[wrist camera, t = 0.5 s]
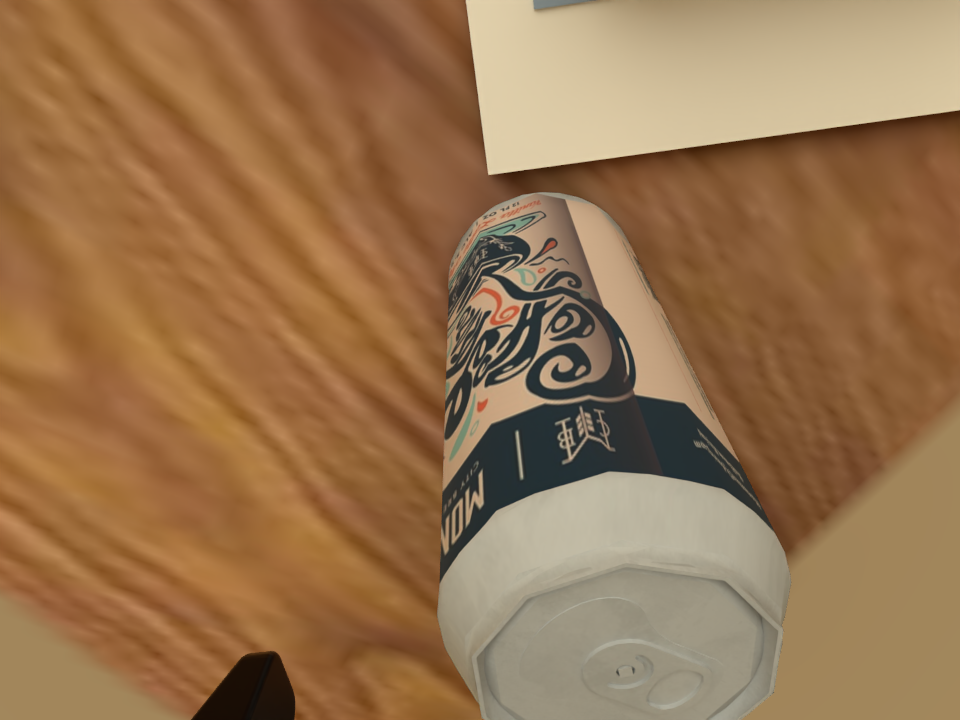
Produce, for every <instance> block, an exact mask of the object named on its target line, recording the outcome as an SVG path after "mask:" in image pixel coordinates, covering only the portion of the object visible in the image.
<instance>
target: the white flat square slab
mask: <svg viewBox="0 0 960 720" xmlns="http://www.w3.org/2000/svg"><path fill="white" fill-rule="evenodd" d="M466 5H467V13H468V21H469V29H470V36H471V44H472V52H473V60H474V67H475V75H476V83H477V90H478V98H479V106H480V114H481V121H482V129H483V137H484V145H485V152H486V160H487V168H488V175H492V174H500V173H507V172H514V171H521V170H529V169H536V168H543V167H551V166H558V165H565V164H572V163H580V162H587V161H594V160H601V159H609V158H616V157H623V156H630V155H638V154H645V153H652V152H660V151H667V150H674V149H681V148H689V147H696V146H703V145H710V144H718V143H725V142H732V141H739V140H747V139H754V138H761V137H769V136H776V135H783V134H790V133H798V132H805V131H812V130H819V129H827V128H834V127H841V126H848V125H856V124H863V123H870V122H878V121H885V120H892V119H899V118H907V117H914V116H921V115H928V114H936V113H943V112H950V111H957V110H960V0H466Z"/></svg>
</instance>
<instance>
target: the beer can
mask: <svg viewBox="0 0 960 720" xmlns="http://www.w3.org/2000/svg"><path fill="white" fill-rule="evenodd" d="M448 287H449V305H448V337H447V368H446V400H445V431H444V463H443V495H442V526H441V558H440V586H439V599H438V611H437V618H438V622H439V626H440V630H441V634H442V638H443V642H444V646H445V649H446V650H447V652H448V654H449V656H450V658H451V659H452V661H453V663H454V665H455V667H456V668H457V670H458V672H459V673H460V675H461V677H462V678H463V680H464V681H465V683H466V685H467V686H468V688H469V690H470V691H471V693H472V695H473V696H474V698H475V699H476V701H477V702H478V703H479V705H480V710H481V716H482V718H483V719H485V720H741V719H742V718H744V717H745V716H746V715H748V714H749V713H750V712H751V711H752V710H754V709H755V708H756V707H757V706H759V705H760V704H761V703H762V702H763V701H765V700H766V699H767V698H768V697H769V696H771V695H772V694H773V693H774V687H775V680H776V674H777V668H778V662H779V657H780V652H781V647H782V636H783V628H782V623H783V621H784V618H785V613H786V608H787V602H788V597H789V592H790V586H791V577H790V571H789V567H788V563H787V559H786V555H785V552H784V550H783V548H782V546H781V544H780V542H779V540H778V538H777V536H776V534H775V532H774V530H773V528H772V526H771V524H770V522H769V520H768V518H767V516H766V514H765V512H764V510H763V508H762V506H761V504H760V502H759V500H758V498H757V496H756V494H755V492H754V490H753V488H752V486H751V484H750V482H749V480H748V478H747V476H746V474H745V472H744V470H743V468H742V466H741V464H740V462H739V460H738V458H737V456H736V454H735V452H734V450H733V448H732V446H731V444H730V442H729V440H728V438H727V436H726V434H725V432H724V430H723V429H722V427H721V425H720V423H719V421H718V419H717V417H716V415H715V413H714V411H713V409H712V407H711V405H710V403H709V401H708V399H707V397H706V395H705V393H704V391H703V389H702V387H701V385H700V383H699V381H698V379H697V377H696V375H695V373H694V371H693V369H692V367H691V365H690V363H689V361H688V359H687V357H686V355H685V353H684V351H683V349H682V347H681V345H680V343H679V341H678V339H677V337H676V335H675V333H674V331H673V329H672V327H671V325H670V323H669V321H668V319H667V317H666V315H665V313H664V311H663V309H662V307H661V305H660V303H659V301H658V299H657V297H656V295H655V293H654V291H653V289H652V287H651V285H650V283H649V281H648V279H647V277H646V275H645V273H644V271H643V269H642V267H641V265H640V263H639V261H638V259H637V257H636V255H635V253H634V251H633V249H632V247H631V245H630V244H629V242H628V240H627V238H626V236H625V235H624V233H623V231H622V229H621V228H620V227H619V226H618V224H617V223H616V222H615V221H614V220H613V219H612V218H611V217H610V216H609V215H608V214H607V213H606V212H604V211H603V210H602V209H600V208H599V207H597V206H596V205H594V204H592V203H590V202H588V201H586V200H584V199H581V198H579V197H575V196H571V195H566V194H562V193H548V192H539V193H532V194H526V195H521V196H518V197H516V198H513V199H511V200H508V201H505V202H503V203H500V204H498V205H496V206H494V207H493V208H491V209H490V210H489V211H487V212H486V213H485V214H484V215H482V216H481V217H480V218H478V219H477V220H476V221H475V222H474V223H473V224H472V225H471V227H470V228H469V229H468V231H467V232H466V233H465V234H464V236H463V237H462V238H461V240H460V243H459V245H458V247H457V249H456V251H455V253H454V255H453V257H452V261H451V264H450V268H449V285H448Z"/></svg>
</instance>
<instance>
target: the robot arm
mask: <svg viewBox="0 0 960 720" xmlns="http://www.w3.org/2000/svg"><path fill="white" fill-rule="evenodd" d="M294 717H295V696H294V692H293V689H292V686H291V683H290V681H289V678H288V676H287V673H286V671H285V668H284V665H283V663H282V660H281V658H280V656H279V655H278V654H277V653H276V652H274V651H268V652H258V653H250V654H247V655H245V656H243V657H242V658H241V659H240V660H239V661H238V662H237V663H236V665H235V666H234V667H233V668H232V670H231V671H230V672H229V673H228V675H227V676H226V677H225V678H224V680H223V681H222V682H221V683H220V685H219V686H218V687H217V688H216V689H215V691H214V692H213V693H212V694H211V696H210V697H209V698H208V699H207V701H206V702H205V703H204V704H203V706H202V707H201V708H200V709H199V710H198V712H197V713H196V714H195V715H194V717H193V718H192V719H191V720H294Z"/></svg>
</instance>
